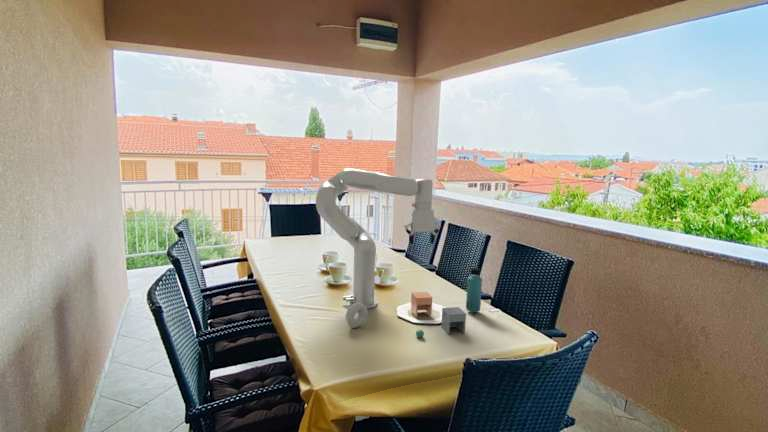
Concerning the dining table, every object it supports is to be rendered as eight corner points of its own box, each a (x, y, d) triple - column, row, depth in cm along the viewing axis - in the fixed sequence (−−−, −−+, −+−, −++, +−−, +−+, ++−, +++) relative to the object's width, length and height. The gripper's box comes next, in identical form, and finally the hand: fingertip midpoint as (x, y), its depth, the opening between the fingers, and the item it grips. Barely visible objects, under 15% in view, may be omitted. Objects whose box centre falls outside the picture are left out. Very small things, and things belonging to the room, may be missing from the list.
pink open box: (415, 316, 168) (416, 298, 167) (410, 310, 175) (411, 292, 174) (431, 315, 170) (432, 297, 168) (426, 309, 176) (426, 291, 175)
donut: (348, 332, 153) (349, 307, 152) (343, 329, 156) (343, 304, 154) (369, 325, 160) (369, 301, 159) (363, 322, 162) (364, 299, 161)
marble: (417, 339, 149) (417, 331, 148) (414, 336, 151) (415, 328, 151) (424, 338, 149) (425, 331, 149) (422, 335, 152) (422, 327, 152)
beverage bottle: (481, 310, 179) (483, 267, 176) (479, 316, 172) (482, 271, 170) (466, 308, 181) (468, 265, 178) (464, 314, 174) (466, 269, 172)
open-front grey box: (447, 334, 153) (449, 314, 152) (441, 327, 160) (442, 308, 159) (464, 333, 155) (466, 313, 154) (457, 325, 162) (458, 307, 161)
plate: (396, 304, 186) (396, 301, 185) (447, 306, 185) (448, 303, 185) (396, 325, 162) (396, 321, 162) (455, 327, 162) (455, 324, 161)
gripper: (407, 207, 174) (405, 245, 177) (444, 207, 178) (442, 244, 181) (402, 205, 182) (401, 242, 184) (438, 205, 186) (436, 241, 188)
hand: (421, 243), depth 182 cm, fingers open, 9 cm apart
